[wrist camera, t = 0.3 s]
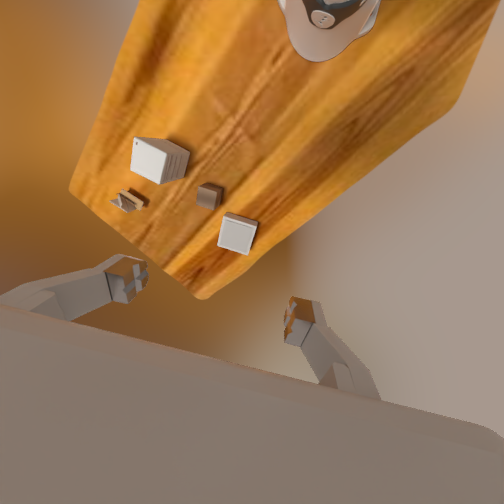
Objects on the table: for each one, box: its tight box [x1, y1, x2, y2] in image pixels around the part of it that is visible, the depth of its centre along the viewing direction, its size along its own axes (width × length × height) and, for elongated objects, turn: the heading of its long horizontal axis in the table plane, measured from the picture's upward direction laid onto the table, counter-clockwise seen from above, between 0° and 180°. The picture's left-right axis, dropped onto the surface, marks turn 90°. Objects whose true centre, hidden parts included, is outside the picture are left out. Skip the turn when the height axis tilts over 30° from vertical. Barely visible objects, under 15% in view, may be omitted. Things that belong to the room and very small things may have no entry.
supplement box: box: [130, 137, 190, 185], centre depth 46 cm, size 7×7×13 cm
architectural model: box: [109, 189, 144, 213], centre depth 56 cm, size 3×7×7 cm, turn 56°
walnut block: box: [196, 183, 223, 210], centre depth 52 cm, size 5×5×6 cm
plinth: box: [217, 212, 258, 255], centre depth 57 cm, size 10×10×4 cm
